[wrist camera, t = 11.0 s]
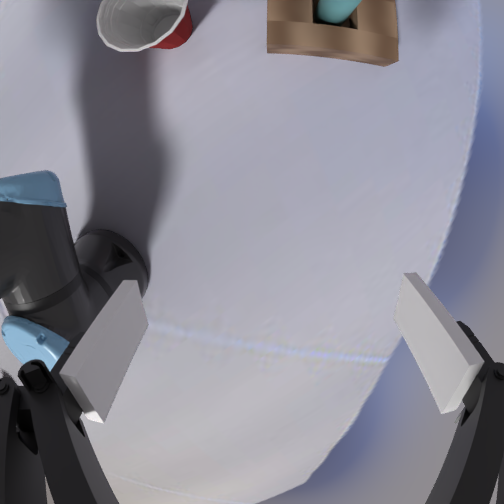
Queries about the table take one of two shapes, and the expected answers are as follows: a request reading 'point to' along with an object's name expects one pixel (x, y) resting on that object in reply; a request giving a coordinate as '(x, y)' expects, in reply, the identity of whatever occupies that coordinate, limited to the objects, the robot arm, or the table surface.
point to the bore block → (334, 32)
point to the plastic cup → (143, 24)
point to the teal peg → (334, 11)
